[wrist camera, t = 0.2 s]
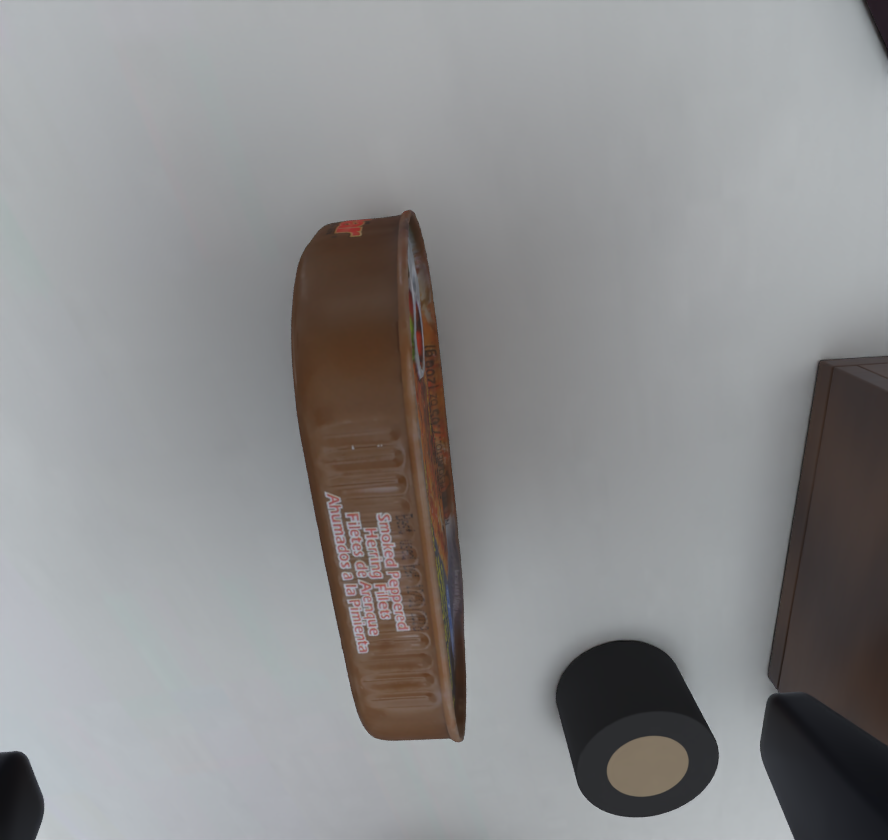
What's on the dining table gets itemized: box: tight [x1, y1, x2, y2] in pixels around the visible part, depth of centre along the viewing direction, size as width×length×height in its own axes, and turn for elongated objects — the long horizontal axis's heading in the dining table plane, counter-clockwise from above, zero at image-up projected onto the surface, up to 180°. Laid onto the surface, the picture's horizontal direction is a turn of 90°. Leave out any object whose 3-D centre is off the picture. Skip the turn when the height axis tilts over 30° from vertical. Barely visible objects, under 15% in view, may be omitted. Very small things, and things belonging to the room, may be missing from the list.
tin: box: [291, 210, 466, 742], centre depth 18 cm, size 15×3×8 cm, turn 5°
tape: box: [556, 641, 719, 817], centre depth 25 cm, size 5×5×4 cm
